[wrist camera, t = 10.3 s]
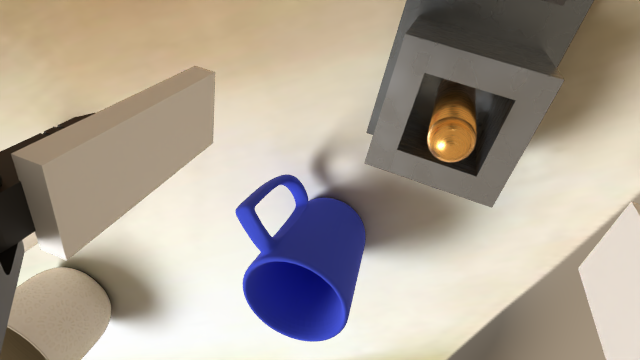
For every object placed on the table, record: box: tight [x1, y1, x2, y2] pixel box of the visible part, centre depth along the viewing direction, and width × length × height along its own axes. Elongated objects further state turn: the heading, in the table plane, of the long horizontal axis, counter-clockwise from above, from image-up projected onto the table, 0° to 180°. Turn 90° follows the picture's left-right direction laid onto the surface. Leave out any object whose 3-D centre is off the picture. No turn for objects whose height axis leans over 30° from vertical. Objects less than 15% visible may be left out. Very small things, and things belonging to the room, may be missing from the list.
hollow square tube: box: [365, 16, 564, 207], centre depth 25 cm, size 8×8×6 cm
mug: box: [236, 175, 365, 341], centre depth 33 cm, size 8×12×10 cm
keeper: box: [367, 0, 594, 162], centre depth 22 cm, size 16×10×10 cm, turn 167°
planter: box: [0, 267, 111, 360], centre depth 53 cm, size 12×12×11 cm
